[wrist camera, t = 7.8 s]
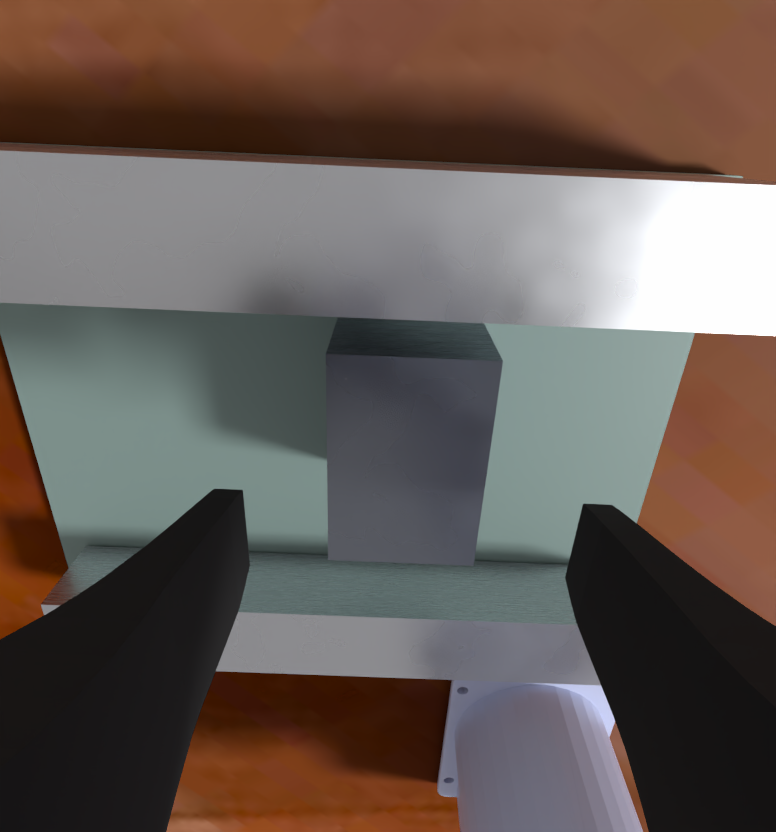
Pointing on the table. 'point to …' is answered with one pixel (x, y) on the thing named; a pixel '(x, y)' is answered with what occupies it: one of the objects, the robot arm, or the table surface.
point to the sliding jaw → (388, 618)
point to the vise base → (273, 422)
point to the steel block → (408, 438)
